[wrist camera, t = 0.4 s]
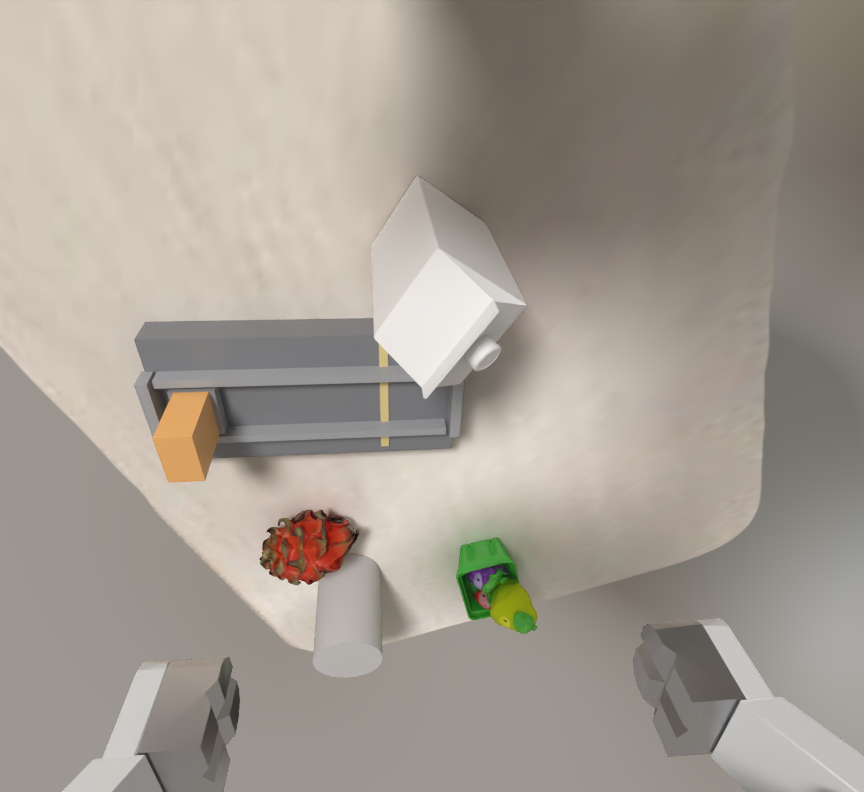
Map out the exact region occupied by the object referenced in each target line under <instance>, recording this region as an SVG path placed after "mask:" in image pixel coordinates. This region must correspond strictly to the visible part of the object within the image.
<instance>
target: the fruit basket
mask: <svg viewBox="0 0 864 792" xmlns="http://www.w3.org/2000/svg"><path fill="white" fill-rule="evenodd" d="M456 579H457V582H458V585H459V588H460V591H461V594H462V598H463V601H464V604H465V607H466V611H467V614H468V617H469V619H471V620H478V619H483V618H487V617H492V618H493V620H494V621H495V622H496V623H498V624H499V625H502V626H504V627H506V628H510V629H512V630H515V631H517V632H520V633H523V634H525V633H528V632H529V631H530V630H531V629H532V630H533V631H534V630H536V628H537V626H535V623H536V620H537V613H536V611H535V609H534V607H533V606H532V603H531V599H530V597H529V594H528V593H527V591H526V590H525V589H524V588H523V587H522V586H521V585H519V581H518V576H517V571H516V565H515V563H514V562H513V560H512V559H511V558H510V557H509V555H508V554H507V552H506V550H505V549H504V547H503V545H502V544H501V542H500V540H499V539H498V538H494V539H491V540H484V541H480V542H475V543H472V544H470V545H462V546H461V550H460V559H459V567H458V570H457V574H456Z"/></svg>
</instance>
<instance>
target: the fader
mask: <svg viewBox="0 0 864 792" xmlns="http://www.w3.org/2000/svg"><path fill="white" fill-rule="evenodd" d="M167 394H168V397H169V403H168V405H167V407H166V409H165V411H164V414H163V416H162V418H161V420H160V422H159V425H158V427H157V429H156V431H155V433H154V436H153V438H152V439H153V441H154V444H155V447H156V450H157V452H158V455H159V458H160V461H161V463H162V466H163V469H164V472H165V475H166V477H167V480H168V482H189V481H205V480H206V476H207V473H208V470H209V467H210V463H211V460H212V457H213V454H214V451H215V447H216V444H217V441H218V438H219V435H220V434H225V433H226V429H227V426H228V424H227V420H226V416H225V412H224V408H223V404H222V400H221V396H220V391H219V387H202V388H169V390H168V392H167Z"/></svg>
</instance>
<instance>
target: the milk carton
mask: <svg viewBox="0 0 864 792" xmlns="http://www.w3.org/2000/svg"><path fill="white" fill-rule="evenodd" d="M371 266H372V294H373V323H374V339H375V340H376V341H377V342H378V343H379V344H380V345H381V346H382V347H383V348H384V349H385V350H386V351H387V353H388V354H389V355H390V356H391V357H392V358H393V359H394V360H395V361H396V362H397V363H398V364H399V365H400V366H401V367H402V368H403V369H404V370H405V371H406V372H407V373H408V374H409V375H410V376H411V377H412V378H413V379H414V380H415V381H416V382H417V384H418V385H419V386H420V387H421V388H422V393H423V398H424V399H427V398H428V396H429V395H430V394H431V393H432V392H433V390H434V389H435V388H436V387H442V386H450V385H457V384H460V383H461V382H462V381H463V380H464V379H465V378H466V377H467V376H468V374H469V373H470V372H471V371H472V370H473V369H474V371H482V370H484V369H486V368H487V367H489V366H490V365H491V364H492V363H493V362H494V361H495V360H496V359H497V358H498V356H499V355H500V353H501V347H500V346H499V345H498V344H497V343H496V342H497V341H498V340H499V339H500V337H501V336H502V335H503V334H504V333H505V332H506V330H507V329H508V328H509V327H510V326H511V325H512V324H513V322H514V321H515V320H516V319H517V318H518V316H519V315H520V314H521V313H522V312H523V311H524V309H525V308H526V307H527V304H526V302H525V300H524V298H523V296H522V294H521V292H520V290H519V288H518V286H517V284H516V282H515V280H514V278H513V276H512V274H511V272H510V270H509V268H508V266H507V264H506V262H505V261H504V259H503V257H502V255H501V253H500V251H499V249H498V247H497V245H496V243H495V241H494V239H493V237H492V235H491V233H490V231H489V229H488V227H487V225H486V223H485V222H483V221H482V220H480V219H479V218H477V217H476V216H475V215H473V214H472V213H470V212H469V211H467V210H466V209H465V208H463V207H462V206H460V205H459V204H458V203H456V202H455V201H453V200H452V199H450V198H449V197H448V196H446V195H445V194H443V193H442V192H440V191H439V190H438V189H436V188H435V187H433V186H432V185H430V184H429V183H428V182H426V181H425V180H423V179H422V178H420V177H419V176H416V178H415V179H414V180H413V182H412V183H411V185H410V186H409V188H408V189H407V191H406V193H405V194H404V196H403V197H402V199H401V200H400V202H399V203H398V205H397V206H396V208H395V209H394V211H393V213H392V214H391V216H390V217H389V219H388V220H387V222H386V223H385V225H384V226H383V228H382V230H381V231H380V233H379V234H378V236H377V237H376V239H375V240H374V242H373V244H372V246H371Z"/></svg>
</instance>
